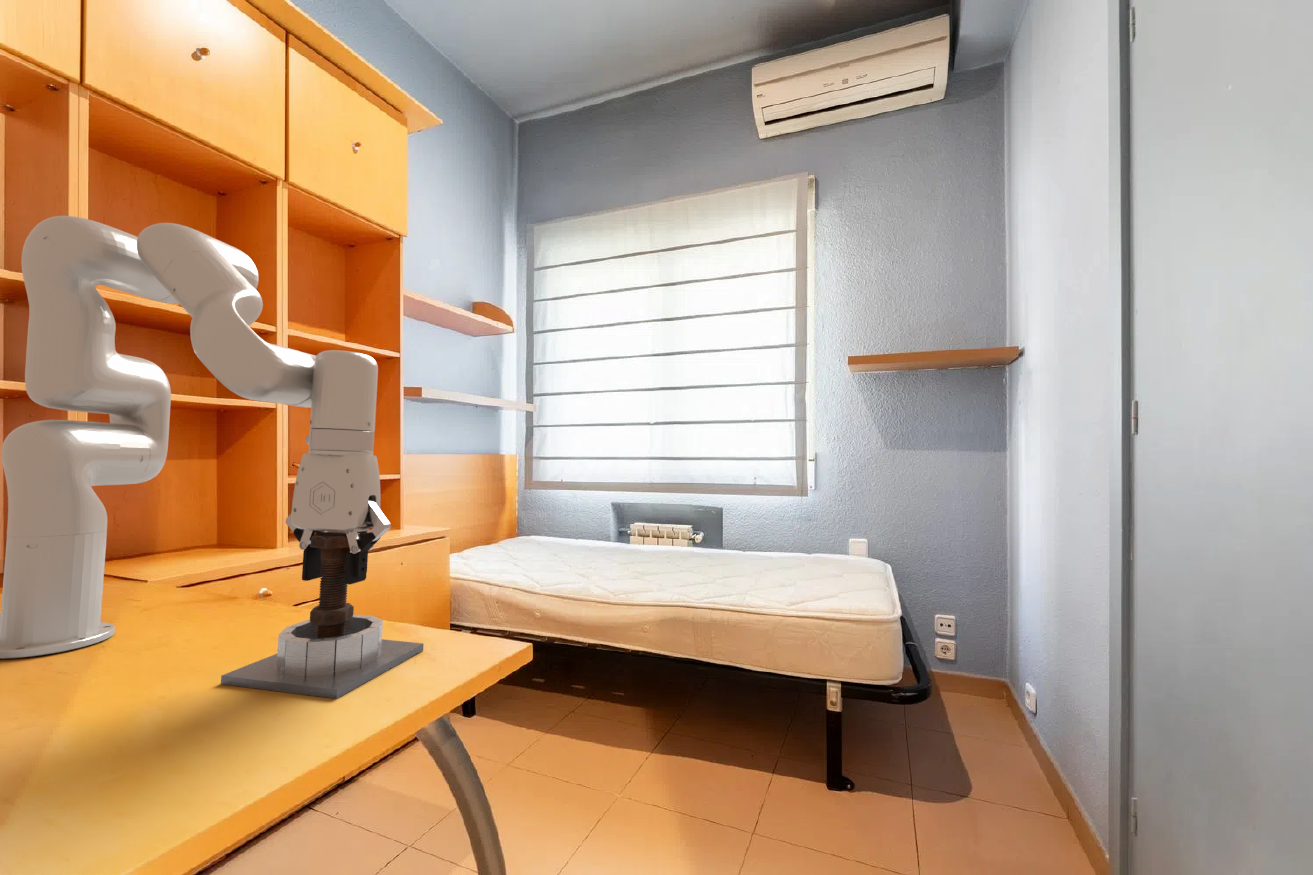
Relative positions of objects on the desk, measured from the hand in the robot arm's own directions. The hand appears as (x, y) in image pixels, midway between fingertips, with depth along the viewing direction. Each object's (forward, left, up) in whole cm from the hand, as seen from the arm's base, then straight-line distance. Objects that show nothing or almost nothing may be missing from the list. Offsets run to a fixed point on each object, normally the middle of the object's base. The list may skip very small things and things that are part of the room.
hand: (334, 578), depth 71 cm
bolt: (0, 0, -9) cm, 9 cm away
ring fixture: (0, 0, -11) cm, 11 cm away
